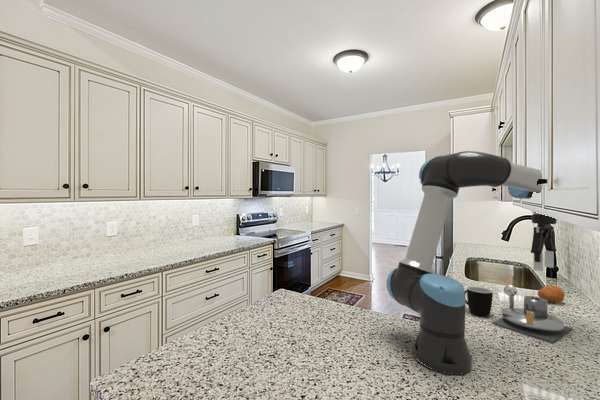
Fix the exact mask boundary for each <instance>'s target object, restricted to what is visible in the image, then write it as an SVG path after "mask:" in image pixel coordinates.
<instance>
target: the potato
mask: <svg viewBox="0 0 600 400" xmlns="http://www.w3.org/2000/svg"><path fill="white" fill-rule="evenodd" d="M537 297H539V298H543V299H546V300H547V301H548V303H552V302H557V303H561V302H563V300H564V299H565V292H564V290H563V289H562V288H561V287H560V286H555V285H547V286H543V287H542V288H540V289H539V290H538V291H537Z"/></svg>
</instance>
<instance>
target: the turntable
mask: <svg viewBox="0 0 600 400" xmlns="http://www.w3.org/2000/svg"><path fill="white" fill-rule="evenodd" d="M501 316H502V317H501V318H504V319H506V320H507V321H509V322H511V323H514V324H516V325H519V326H522V327H526V328H530V329H534V330H540V331H549V332H558V331H562V330H564V326H565V322H564V321H563V320H561V319H560V318H558V317H556V316H554V315H550V314H548V317H547V318H536V317H534V312H532V311H526V314H524V308H518V307H514V308H509V307H507V308H504V309H502V310H501Z"/></svg>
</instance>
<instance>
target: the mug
mask: <svg viewBox="0 0 600 400" xmlns="http://www.w3.org/2000/svg"><path fill="white" fill-rule="evenodd" d="M466 294H467V295H466ZM465 295H466V296H467V298H466V303H465V305H467V306H468V309H469V312H470V313H471V315H473V316H476V317H481V318H487V317H489V316H490V314H491V311H492V306H493V305H492V304H493V296H494V295H493V290H491V289H489V288H486V287H481V286H467V288H466V290H465Z"/></svg>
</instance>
